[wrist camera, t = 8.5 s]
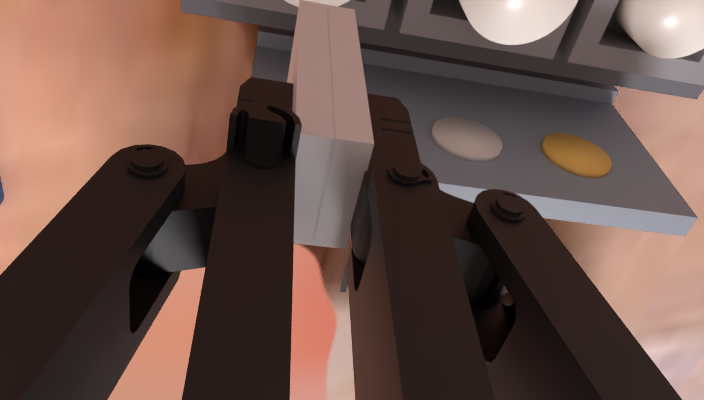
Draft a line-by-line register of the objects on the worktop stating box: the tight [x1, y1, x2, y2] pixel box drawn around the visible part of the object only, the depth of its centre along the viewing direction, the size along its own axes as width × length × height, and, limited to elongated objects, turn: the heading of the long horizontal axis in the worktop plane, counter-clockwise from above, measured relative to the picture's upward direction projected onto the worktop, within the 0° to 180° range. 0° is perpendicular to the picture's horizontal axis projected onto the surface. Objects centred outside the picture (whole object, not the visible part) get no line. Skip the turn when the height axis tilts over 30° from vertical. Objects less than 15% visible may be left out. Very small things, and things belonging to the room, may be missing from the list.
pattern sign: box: [252, 25, 698, 236], centre depth 33 cm, size 22×3×12 cm, turn 78°
